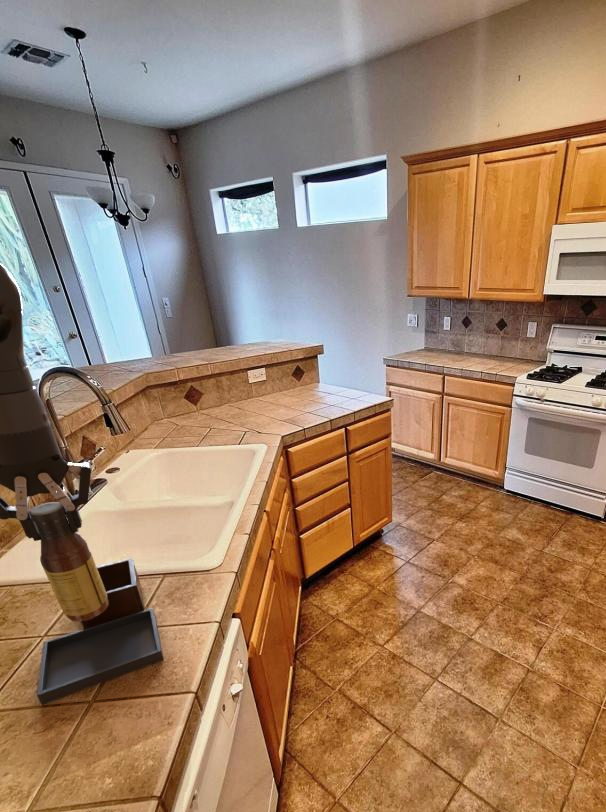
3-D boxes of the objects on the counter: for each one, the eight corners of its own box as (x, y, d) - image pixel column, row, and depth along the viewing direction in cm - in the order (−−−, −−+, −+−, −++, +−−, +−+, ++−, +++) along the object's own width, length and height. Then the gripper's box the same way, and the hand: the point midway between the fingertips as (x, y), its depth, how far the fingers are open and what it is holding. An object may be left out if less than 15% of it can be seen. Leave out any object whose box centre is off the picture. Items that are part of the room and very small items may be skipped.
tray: (41, 705, 67) (36, 695, 66) (47, 650, 77) (43, 641, 76) (163, 659, 75) (161, 650, 74) (155, 615, 85) (152, 607, 84)
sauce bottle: (88, 596, 75) (51, 494, 66) (119, 602, 74) (86, 499, 65) (54, 621, 69) (8, 513, 60) (87, 628, 68) (45, 519, 59)
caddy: (84, 632, 81) (73, 603, 78) (85, 599, 89) (74, 572, 86) (145, 613, 86) (136, 585, 83) (140, 584, 94) (132, 557, 91)
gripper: (78, 411, 63) (111, 513, 71) (-52, 424, 56) (-1, 535, 64) (78, 423, 58) (113, 533, 65) (-67, 440, 51) (-9, 560, 58)
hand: (56, 533), depth 65 cm, fingers closed on sauce bottle, 4 cm apart
